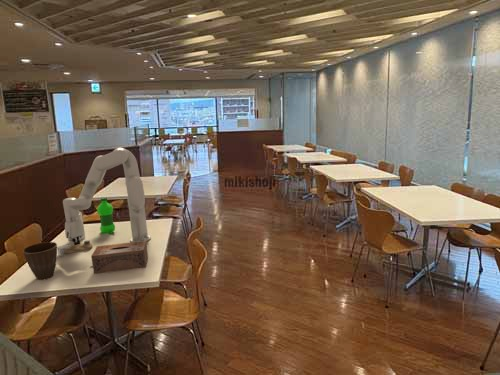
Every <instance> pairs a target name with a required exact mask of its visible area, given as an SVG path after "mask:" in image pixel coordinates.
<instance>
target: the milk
mask: <svg viewBox="0 0 500 375" xmlns="http://www.w3.org/2000/svg"><path fill="white" fill-rule="evenodd" d="M79 214H80V219H81V221H82V224H83V228H84V229H85V225H84V221H83V213H82V212H81V211H79ZM84 239H86V232H85V231H84V235H83V236H82V237H81V240H84Z"/></svg>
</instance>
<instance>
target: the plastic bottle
mask: <svg viewBox="0 0 500 375" xmlns="http://www.w3.org/2000/svg"><path fill="white" fill-rule="evenodd" d="M99 199H100V202H101V203H100V204H99V205H98V206H97V209H96V212H97V215H99V220H100V228H99V231H100V232H101V233H102V234H108V235H112V234H113V233H114V232H115V229H116V225H115V223H114V220H113V219H114V218H113V212H114V207H113V205H112V204H111V203H109V202H108V197H107V196H104V197H100V198H99Z"/></svg>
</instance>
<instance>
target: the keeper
mask: <svg viewBox="0 0 500 375" xmlns="http://www.w3.org/2000/svg"><path fill="white" fill-rule="evenodd" d="M70 246H71V245H69V244H68V243H67V244H64V245H60V246H57V256H59V257H60V258H64V257H65V254H64V252H63V250H64V249H68V248H70Z"/></svg>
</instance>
